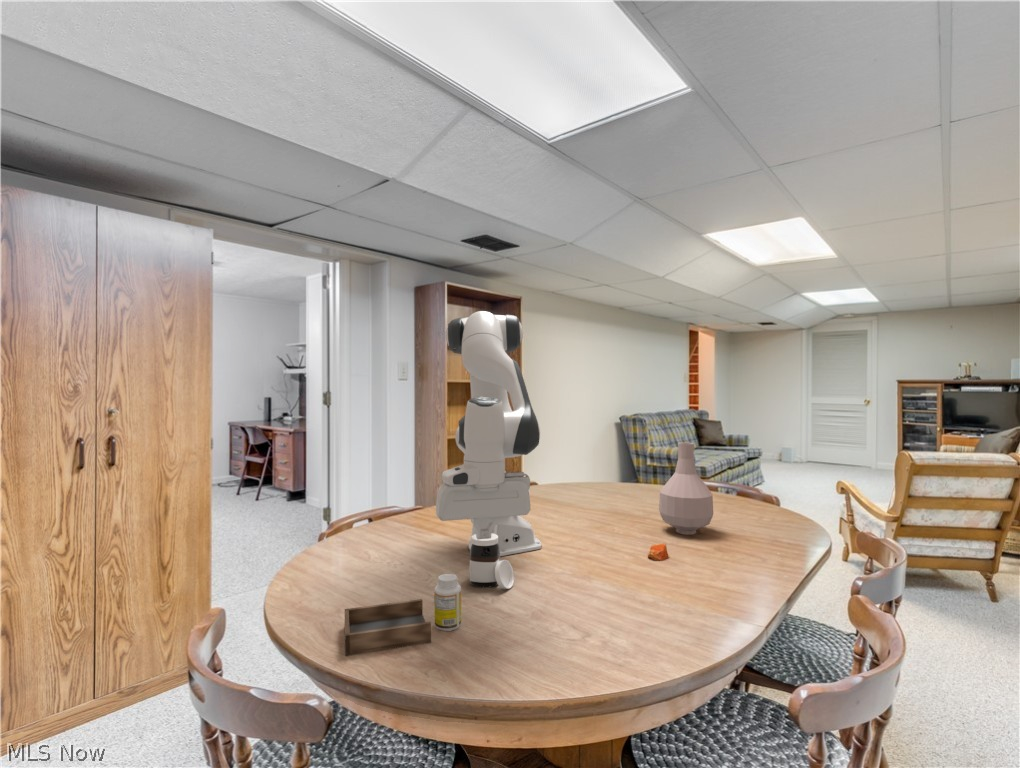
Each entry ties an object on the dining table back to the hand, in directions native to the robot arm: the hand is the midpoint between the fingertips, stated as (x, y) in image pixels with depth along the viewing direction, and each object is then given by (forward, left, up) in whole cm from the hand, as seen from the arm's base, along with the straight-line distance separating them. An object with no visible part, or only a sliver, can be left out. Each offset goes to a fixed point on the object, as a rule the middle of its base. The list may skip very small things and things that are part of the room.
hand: (483, 538), depth 111 cm
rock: (-59, -23, -19) cm, 66 cm away
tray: (+20, 0, -18) cm, 27 cm away
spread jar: (-7, -19, -18) cm, 27 cm away
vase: (-82, -42, -18) cm, 94 cm away
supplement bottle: (+8, 0, -18) cm, 19 cm away
